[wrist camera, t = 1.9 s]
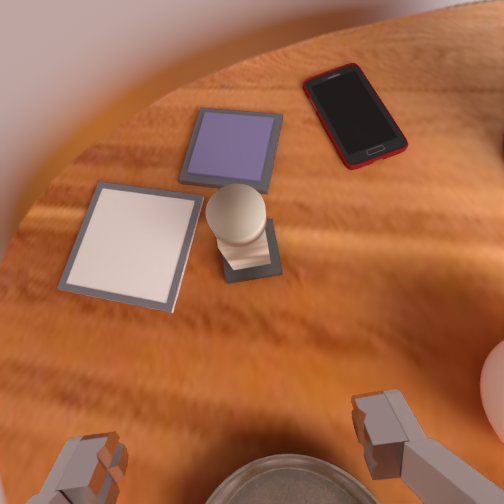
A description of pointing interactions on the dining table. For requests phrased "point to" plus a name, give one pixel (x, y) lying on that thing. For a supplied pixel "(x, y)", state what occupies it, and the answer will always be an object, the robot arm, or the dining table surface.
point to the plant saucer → (291, 483)
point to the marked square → (133, 245)
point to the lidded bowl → (494, 389)
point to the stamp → (243, 233)
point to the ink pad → (232, 149)
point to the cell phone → (354, 116)
